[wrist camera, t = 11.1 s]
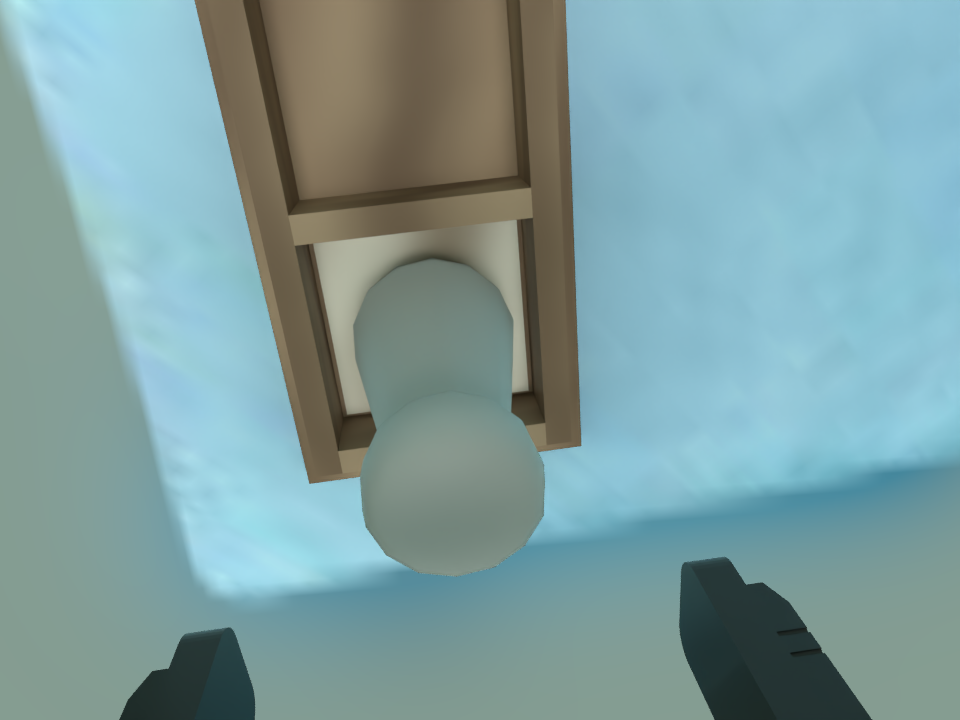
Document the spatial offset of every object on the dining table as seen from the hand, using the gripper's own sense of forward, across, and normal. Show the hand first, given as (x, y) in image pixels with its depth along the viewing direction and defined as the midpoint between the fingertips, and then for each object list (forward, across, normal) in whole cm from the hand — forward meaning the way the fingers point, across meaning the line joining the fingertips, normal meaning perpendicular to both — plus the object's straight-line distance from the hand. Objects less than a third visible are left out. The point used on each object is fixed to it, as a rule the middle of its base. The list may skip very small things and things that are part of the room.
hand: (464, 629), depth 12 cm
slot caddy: (+17, 0, -5) cm, 18 cm away
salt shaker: (+16, 0, 0) cm, 16 cm away
